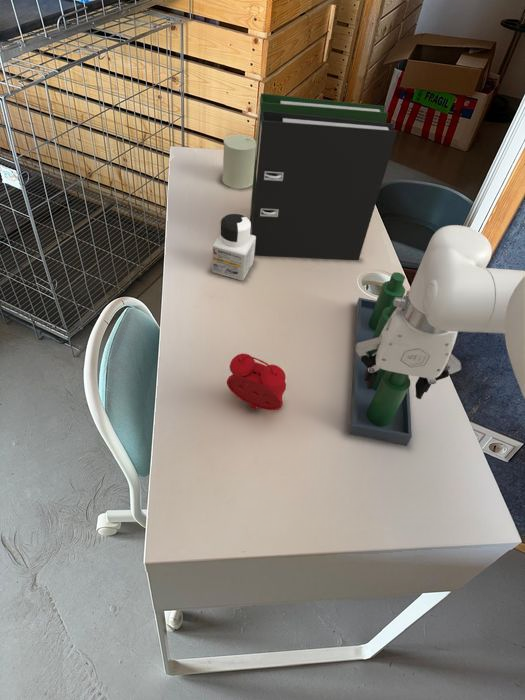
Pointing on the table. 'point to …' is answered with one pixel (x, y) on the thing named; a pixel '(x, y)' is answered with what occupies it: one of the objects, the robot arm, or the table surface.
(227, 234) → the container
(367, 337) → the tray
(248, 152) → the can
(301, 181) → the binder
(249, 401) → the alarm clock
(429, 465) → the table surface
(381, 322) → the bottle
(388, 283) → the bottle
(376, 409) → the loose bottle
